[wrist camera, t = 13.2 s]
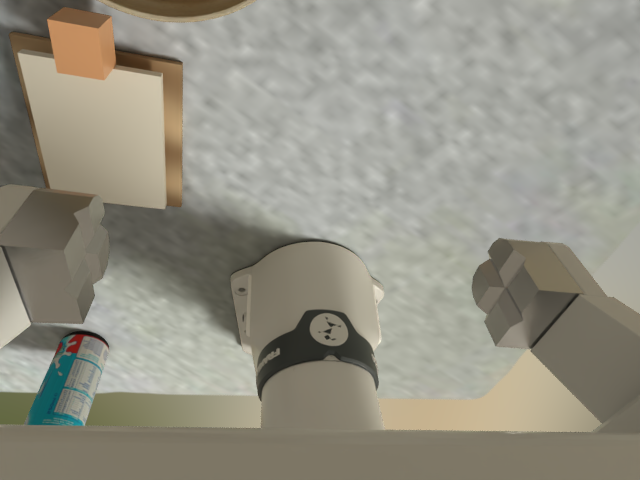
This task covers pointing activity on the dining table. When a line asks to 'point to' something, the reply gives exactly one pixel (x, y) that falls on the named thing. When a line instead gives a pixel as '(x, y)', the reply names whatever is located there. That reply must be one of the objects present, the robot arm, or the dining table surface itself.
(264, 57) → the dining table surface
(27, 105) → the mat
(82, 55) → the lid
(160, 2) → the planter bowl
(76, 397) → the beverage can
